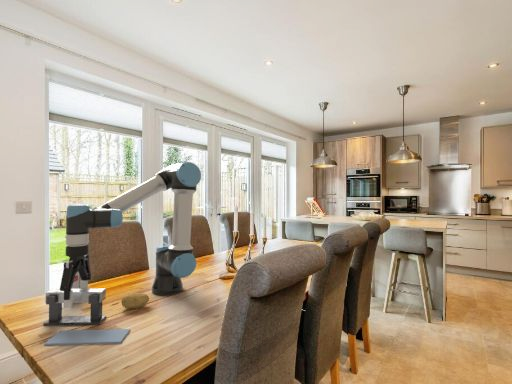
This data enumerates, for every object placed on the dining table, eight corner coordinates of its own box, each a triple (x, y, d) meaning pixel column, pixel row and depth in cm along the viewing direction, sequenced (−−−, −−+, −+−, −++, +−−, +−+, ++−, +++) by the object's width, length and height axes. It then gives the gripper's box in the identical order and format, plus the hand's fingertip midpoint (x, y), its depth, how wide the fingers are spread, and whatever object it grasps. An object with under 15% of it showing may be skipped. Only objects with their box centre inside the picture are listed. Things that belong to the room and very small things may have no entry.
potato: (122, 306, 128) (122, 291, 128) (149, 303, 132) (149, 289, 132) (120, 312, 122) (120, 297, 122) (148, 309, 125) (148, 294, 125)
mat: (130, 330, 106) (130, 329, 106) (120, 343, 97) (120, 341, 97) (60, 332, 104) (60, 330, 104) (44, 345, 95) (44, 343, 95)
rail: (105, 298, 115) (105, 288, 115) (101, 302, 111) (101, 291, 111) (51, 299, 114) (52, 289, 114) (45, 303, 110) (45, 292, 110)
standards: (106, 317, 116) (107, 289, 117) (99, 325, 110) (99, 295, 110) (53, 318, 115) (54, 290, 115) (42, 326, 108) (43, 296, 108)
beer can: (76, 304, 130) (77, 268, 130) (64, 302, 131) (65, 267, 131) (87, 299, 136) (87, 264, 136) (75, 298, 137) (76, 263, 137)
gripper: (82, 239, 124) (81, 292, 124) (48, 250, 101) (46, 314, 100) (100, 239, 124) (99, 291, 124) (71, 250, 101) (69, 314, 101)
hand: (76, 302), depth 112 cm, fingers open, 11 cm apart
